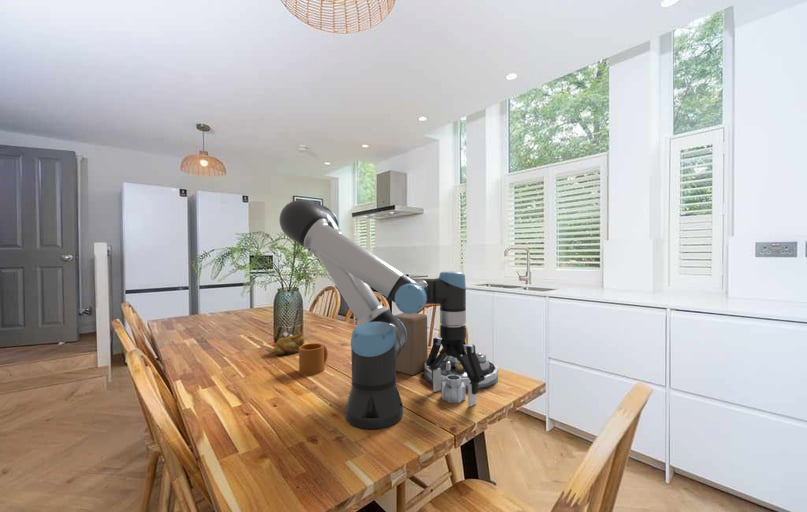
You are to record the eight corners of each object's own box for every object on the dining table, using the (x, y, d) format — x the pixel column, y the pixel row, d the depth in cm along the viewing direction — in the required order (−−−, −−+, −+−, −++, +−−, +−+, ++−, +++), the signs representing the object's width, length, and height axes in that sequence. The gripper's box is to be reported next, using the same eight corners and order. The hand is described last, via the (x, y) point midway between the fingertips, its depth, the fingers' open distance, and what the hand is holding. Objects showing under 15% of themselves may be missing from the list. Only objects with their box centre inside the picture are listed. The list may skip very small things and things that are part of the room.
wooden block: (413, 376, 115) (412, 318, 115) (390, 370, 121) (389, 315, 121) (428, 368, 123) (428, 314, 123) (407, 363, 129) (406, 311, 129)
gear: (455, 405, 93) (455, 384, 93) (437, 397, 98) (436, 377, 98) (470, 397, 98) (469, 377, 98) (451, 390, 103) (451, 371, 103)
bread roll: (276, 358, 137) (276, 339, 136) (268, 353, 144) (268, 334, 144) (306, 352, 145) (306, 333, 145) (298, 347, 152) (297, 329, 152)
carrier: (468, 397, 98) (467, 370, 98) (409, 375, 116) (409, 352, 116) (512, 375, 115) (512, 352, 115) (454, 358, 133) (454, 338, 133)
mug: (336, 368, 124) (336, 344, 124) (307, 377, 116) (307, 352, 115) (322, 362, 131) (322, 339, 130) (294, 371, 122) (294, 346, 121)
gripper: (497, 329, 91) (497, 406, 92) (430, 316, 109) (431, 381, 110) (481, 333, 86) (481, 416, 87) (414, 320, 104) (415, 388, 105)
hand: (453, 397), depth 98 cm, fingers open, 12 cm apart
